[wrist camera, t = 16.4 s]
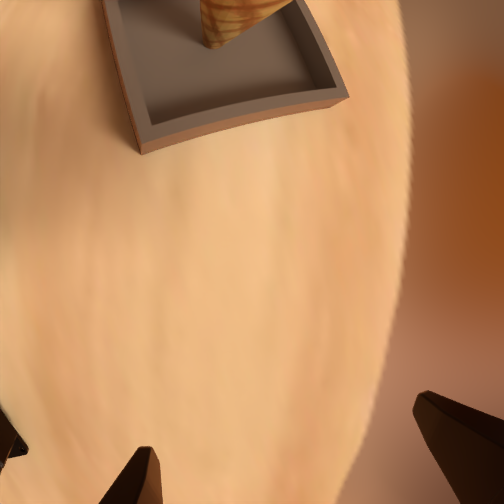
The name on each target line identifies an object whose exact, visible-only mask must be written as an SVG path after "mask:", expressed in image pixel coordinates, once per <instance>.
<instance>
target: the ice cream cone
mask: <svg viewBox="0 0 504 504" xmlns="http://www.w3.org/2000/svg"><path fill="white" fill-rule="evenodd" d="M291 1H293V0H200V15H201V27H202V38H203V44H204V46H205V47H206V48H209V49H218V48H220V47H222V46H223V45H224V44H226V43H227V42H229V41H231V40H232V39H234V38H235V37H237V36H238V35H240V34H241V33H243V32H245V31H246V30H248V29H249V28H251V27H252V26H254V25H256V24H257V23H259V22H260V21H262V20H263V19H265V18H267V17H268V16H270V15H271V14H273V13H274V12H276V11H277V10H279V9H280V8H282V7H283V6H285V5H287V4H288V3H290V2H291Z"/></svg>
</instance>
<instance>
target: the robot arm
mask: <svg viewBox="0 0 504 504" xmlns="http://www.w3.org/2000/svg"><path fill="white" fill-rule="evenodd" d="M413 415H414V418H415V420H416V422H417V424H418V427H419V429H420V431H421V433H422V435H423V438H424V440H425V442H426V444H427V446H428V448H429V450H430V451H431V453H432V455H433V456H434V458H435V460H436V462H437V463H438V465H439V467H440V468H441V470H442V472H443V473H444V475H445V477H446V479H447V480H448V482H449V484H450V486H451V487H452V489H453V491H454V493H455V495H456V496H457V498H458V500H459V502H460V504H504V420H502V419H500V418H497V417H494V416H491V415H489V414H486V413H484V412H481V411H479V410H476V409H473V408H471V407H468V406H466V405H463V404H461V403H458V402H456V401H453V400H451V399H448V398H446V397H444V396H441V395H439V394H436V393H434V392H432V391H429V390H427V391H424V392H421V393H419V394H418V395H417V398H416V401H415V404H414V406H413ZM22 448H23V449H22ZM28 450H29V448H28V446H27V445H26V444H25V442H24V441H23V440H22V438H21V437H20V436H19V434H18V433H17V432H16V430H15V429H14V428H13V426H12V425H11V424H10V422H9V421H8V419H7V418H6V416H5V415H4V414H3V412H2V411H1V409H0V474H1V471H2V468H4V466H5V464H6V461H7V459H8V458H13V457H17V456H22V455H26V454H27V453H28ZM99 504H163V498H162V486H161V472H160V463H159V460H158V458H157V456H156V454H155V451H154V449H153V448H152V447H150V446H141V447H139V448H138V449H137V450H136V452H135V453H134V455H133V456H132V457H131V459H130V460H129V462H128V463H127V464H126V466H125V467H124V469H123V470H122V471H121V473H120V474H119V476H118V477H117V478H116V480H115V481H114V483H113V484H112V485H111V487H110V488H109V490H108V491H107V492H106V494H105V495H104V497H103V498H102V499H101V501H100V502H99Z"/></svg>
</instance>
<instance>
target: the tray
mask: <svg viewBox="0 0 504 504" xmlns="http://www.w3.org/2000/svg"><path fill="white" fill-rule="evenodd" d="M101 1H102V6H103V11H104V16H105V21H106V26H107V30H108V35H109V39H110V44H111V48H112V52H113V56H114V60H115V64H116V68H117V72H118V76H119V80H120V84H121V88H122V91H123V95H124V99H125V102H126V106H127V109H128V113H129V116H130V120H131V123H132V127H133V130H134V133H135V137H136V140H137V143H138V146H139V150H140V153H141V155H143V154H146V153H149V152H152V151H155V150H158V149H161V148H164V147H167V146H170V145H173V144H176V143H180V142H183V141H186V140H189V139H193V138H196V137H200V136H203V135H207V134H210V133H214V132H218V131H221V130H225V129H229V128H233V127H237V126H241V125H245V124H249V123H253V122H258V121H262V120H267V119H271V118H276V117H281V116H286V115H291V114H296V113H301V112H306V111H312V110H318V109H324V108H330V107H332V106H334V105H335V104H337V103H339V102H341V101H343V100H345V99H347V98H349V94H348V92H347V89H346V87H345V84H344V82H343V80H342V77H341V75H340V73H339V70H338V68H337V66H336V63H335V61H334V59H333V57H332V55H331V52H330V50H329V48H328V46H327V44H326V42H325V40H324V38H323V36H322V33H321V31H320V29H319V27H318V25H317V23H316V22H315V20H314V18H313V16H312V14H311V12H310V10H309V8H308V6H307V5H306V3H305V1H304V0H293V1H291V2H290V3H288V4H287V5H285V6H283V7H282V8H280V9H279V10H277V11H276V12H274V13H273V14H271V15H270V16H268V17H267V18H265V19H263V20H262V21H260V22H259V23H257V24H256V25H254V26H252V27H251V28H249V29H248V30H246V31H245V32H243V33H241V34H240V35H238V36H237V37H235V38H234V39H232V40H231V41H229V42H227V43H226V44H224V45H223V46H222V47H220V48H218V49H209V48H206V47H205V46H204V44H203V38H202V27H201V15H200V0H101Z"/></svg>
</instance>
